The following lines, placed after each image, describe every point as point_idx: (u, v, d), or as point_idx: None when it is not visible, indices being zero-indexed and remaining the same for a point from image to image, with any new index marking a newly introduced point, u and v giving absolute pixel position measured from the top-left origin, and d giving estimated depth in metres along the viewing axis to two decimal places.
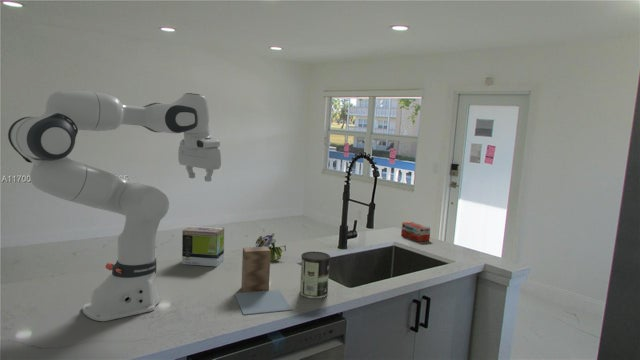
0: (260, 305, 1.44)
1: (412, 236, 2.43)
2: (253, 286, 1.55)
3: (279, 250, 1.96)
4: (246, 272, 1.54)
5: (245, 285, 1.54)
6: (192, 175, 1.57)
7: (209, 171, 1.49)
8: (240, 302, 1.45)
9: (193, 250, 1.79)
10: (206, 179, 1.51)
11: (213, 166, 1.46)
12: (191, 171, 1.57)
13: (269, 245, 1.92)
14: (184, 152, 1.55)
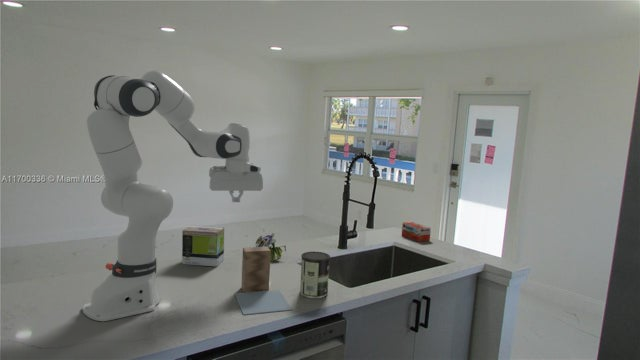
0: (260, 305, 1.44)
1: (413, 236, 2.42)
2: (253, 286, 1.55)
3: (279, 250, 1.95)
4: (246, 272, 1.54)
5: (245, 285, 1.54)
6: None
7: None
8: (240, 302, 1.45)
9: (193, 250, 1.79)
10: (238, 200, 1.68)
11: (262, 187, 1.70)
12: (233, 196, 1.68)
13: (269, 245, 1.92)
14: (222, 178, 1.64)
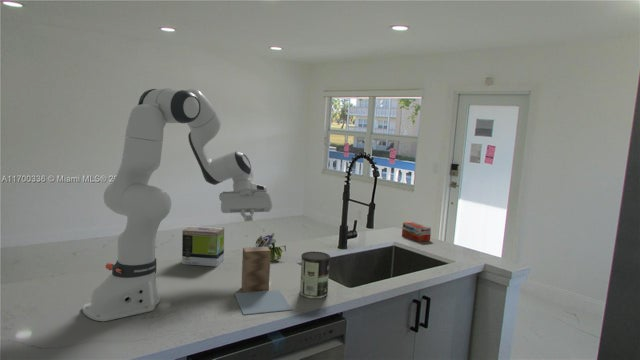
0: (260, 305, 1.44)
1: (413, 236, 2.42)
2: (253, 286, 1.55)
3: (279, 250, 1.95)
4: (246, 272, 1.54)
5: (245, 285, 1.54)
6: None
7: (254, 211, 1.73)
8: (240, 302, 1.45)
9: (193, 250, 1.79)
10: (251, 217, 1.70)
11: None
12: None
13: (269, 245, 1.92)
14: (232, 198, 1.72)
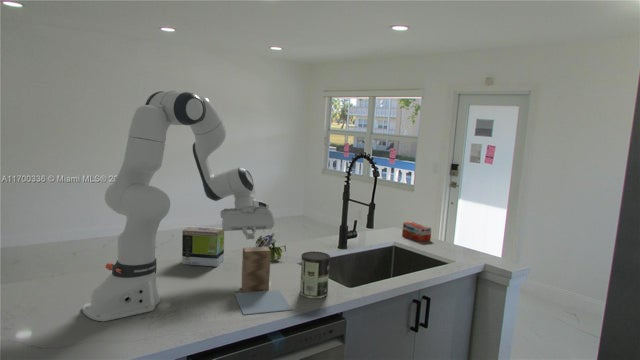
0: (260, 305, 1.44)
1: (413, 236, 2.42)
2: (253, 286, 1.55)
3: (279, 250, 1.95)
4: (246, 272, 1.54)
5: (245, 285, 1.54)
6: None
7: None
8: (240, 302, 1.45)
9: (193, 250, 1.79)
10: (253, 235, 1.67)
11: None
12: None
13: (269, 245, 1.92)
14: (233, 216, 1.69)
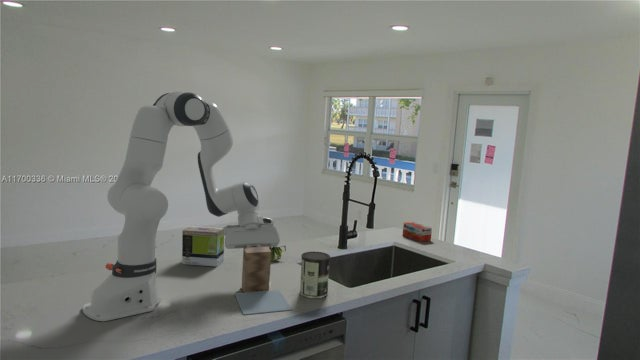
0: (260, 305, 1.44)
1: (414, 236, 2.42)
2: (253, 287, 1.55)
3: (279, 250, 1.95)
4: (246, 273, 1.53)
5: (245, 285, 1.54)
6: None
7: None
8: (240, 302, 1.45)
9: (193, 250, 1.79)
10: None
11: (279, 239, 1.65)
12: None
13: None
14: (236, 233, 1.61)
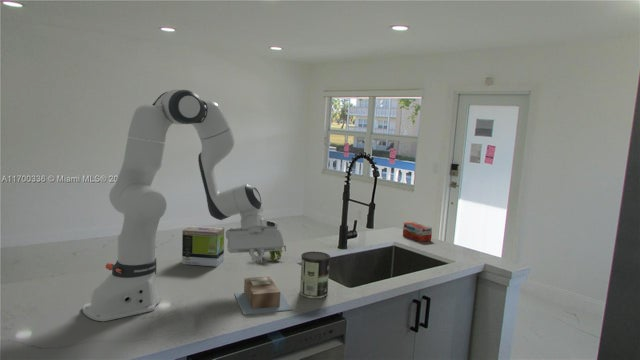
0: None
1: (414, 236, 2.42)
2: None
3: None
4: None
5: None
6: None
7: None
8: (240, 302, 1.45)
9: (193, 250, 1.79)
10: (260, 258, 1.54)
11: (283, 243, 1.60)
12: None
13: None
14: (239, 236, 1.56)
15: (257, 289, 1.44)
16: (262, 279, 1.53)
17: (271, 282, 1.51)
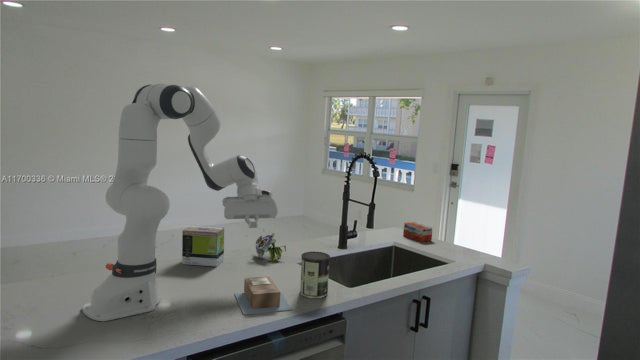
0: None
1: (415, 236, 2.42)
2: None
3: (279, 250, 1.95)
4: None
5: None
6: None
7: None
8: (240, 302, 1.45)
9: (193, 250, 1.79)
10: (255, 224, 1.63)
11: (277, 211, 1.68)
12: None
13: (269, 245, 1.92)
14: (235, 204, 1.65)
15: (257, 289, 1.44)
16: (262, 279, 1.53)
17: (271, 282, 1.51)
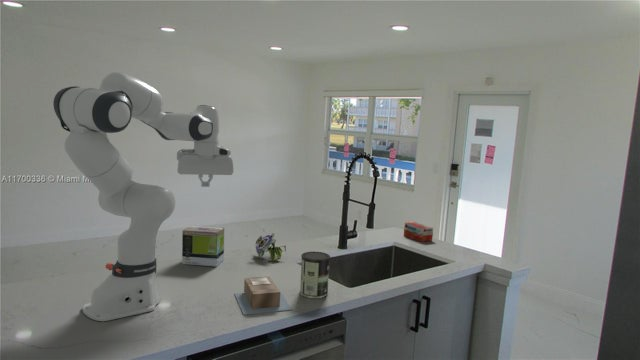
0: None
1: (415, 236, 2.42)
2: None
3: (279, 250, 1.95)
4: None
5: None
6: (205, 183, 1.63)
7: (212, 176, 1.64)
8: (240, 302, 1.45)
9: (193, 250, 1.79)
10: (208, 184, 1.63)
11: None
12: (202, 180, 1.63)
13: (269, 245, 1.92)
14: (190, 161, 1.59)
15: (257, 289, 1.44)
16: (262, 279, 1.53)
17: (271, 282, 1.51)
